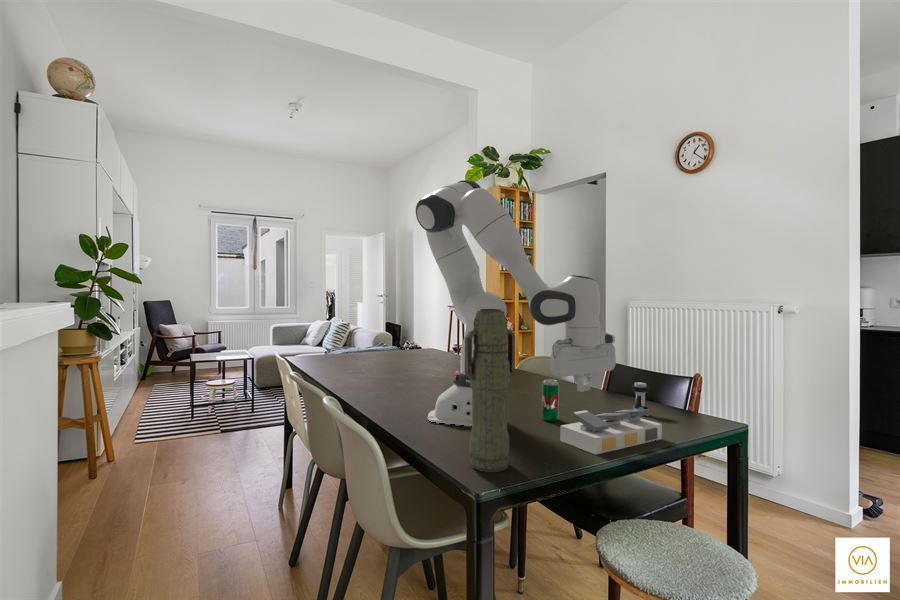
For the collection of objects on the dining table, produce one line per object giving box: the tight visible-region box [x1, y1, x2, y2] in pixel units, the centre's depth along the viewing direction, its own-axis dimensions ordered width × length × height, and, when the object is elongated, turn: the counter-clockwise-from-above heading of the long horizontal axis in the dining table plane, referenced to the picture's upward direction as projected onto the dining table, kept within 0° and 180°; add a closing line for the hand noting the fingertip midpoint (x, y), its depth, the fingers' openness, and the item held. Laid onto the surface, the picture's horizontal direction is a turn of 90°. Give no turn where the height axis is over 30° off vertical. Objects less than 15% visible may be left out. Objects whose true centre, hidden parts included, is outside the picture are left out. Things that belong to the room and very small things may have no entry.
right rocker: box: [613, 408, 652, 417], centre depth 127 cm, size 5×8×1 cm, turn 30°
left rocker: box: [571, 409, 609, 432], centre depth 119 cm, size 5×8×1 cm, turn 30°
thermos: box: [465, 309, 516, 473], centre depth 104 cm, size 9×12×35 cm
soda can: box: [541, 378, 560, 422], centre depth 142 cm, size 5×5×12 cm
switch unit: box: [559, 416, 663, 455], centre depth 123 cm, size 25×12×5 cm, turn 120°
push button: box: [631, 381, 650, 417], centre depth 149 cm, size 7×5×10 cm
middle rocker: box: [594, 412, 631, 420], centre depth 123 cm, size 5×8×1 cm, turn 30°
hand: (583, 390), depth 121 cm, fingers closed
